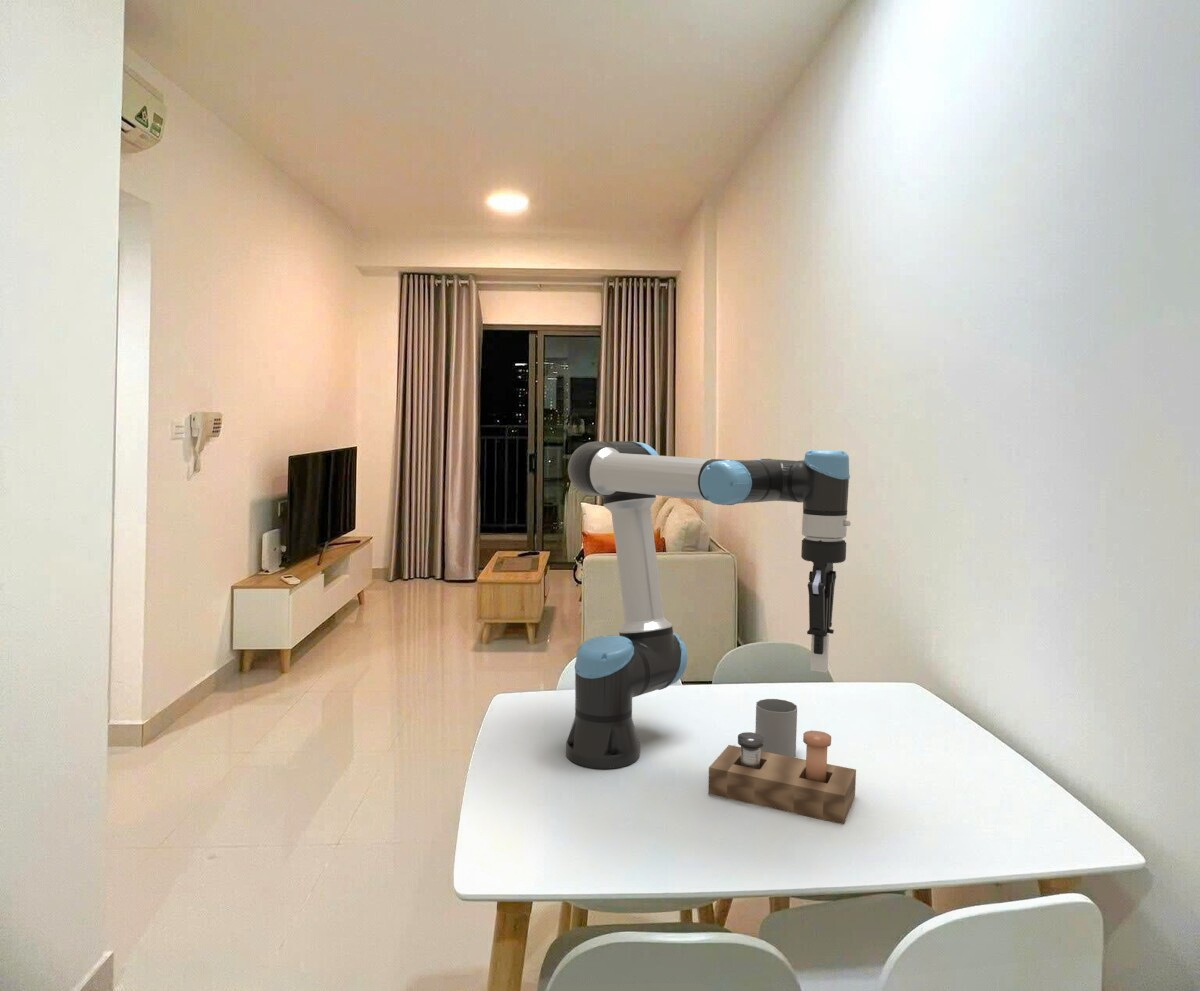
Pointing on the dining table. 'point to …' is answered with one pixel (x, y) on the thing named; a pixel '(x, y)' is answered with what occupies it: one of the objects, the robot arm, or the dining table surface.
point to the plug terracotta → (816, 755)
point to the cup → (777, 726)
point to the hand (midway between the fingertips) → (819, 670)
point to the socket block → (783, 785)
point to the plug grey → (750, 749)
